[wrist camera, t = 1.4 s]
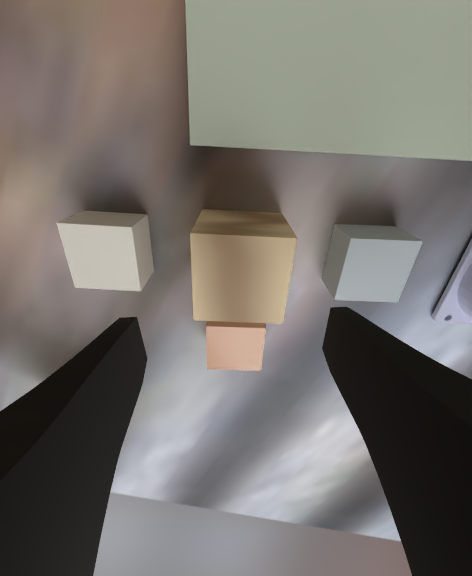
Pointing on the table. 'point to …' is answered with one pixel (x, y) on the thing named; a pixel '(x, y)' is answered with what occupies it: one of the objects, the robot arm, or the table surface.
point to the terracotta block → (235, 345)
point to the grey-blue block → (369, 262)
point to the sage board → (332, 76)
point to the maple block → (241, 266)
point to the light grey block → (108, 250)
